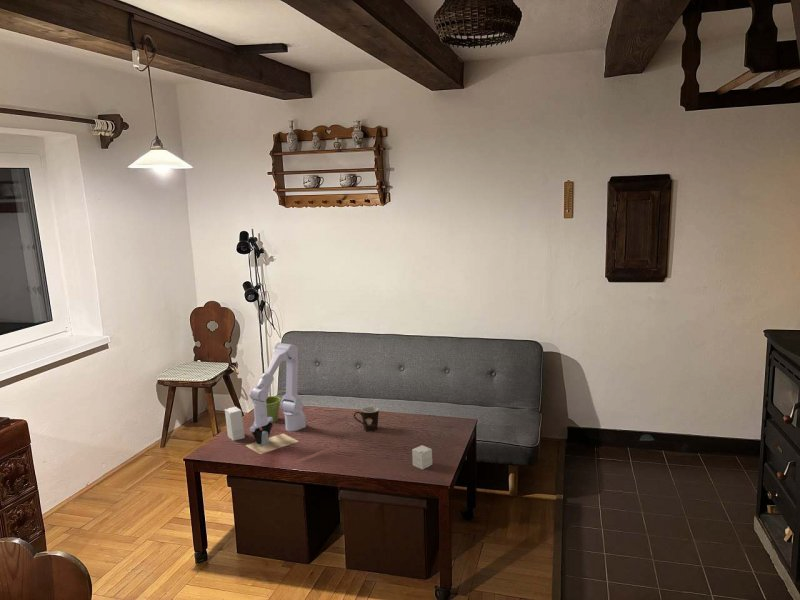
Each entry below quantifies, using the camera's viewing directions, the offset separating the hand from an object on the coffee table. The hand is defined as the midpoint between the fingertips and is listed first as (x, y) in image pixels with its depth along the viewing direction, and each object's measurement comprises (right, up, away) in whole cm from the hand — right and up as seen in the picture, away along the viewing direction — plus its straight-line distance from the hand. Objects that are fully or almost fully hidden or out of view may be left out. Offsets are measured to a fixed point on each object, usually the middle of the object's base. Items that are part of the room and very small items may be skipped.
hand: (262, 441), depth 295 cm
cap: (0, -1, 0) cm, 1 cm away
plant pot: (-3, +3, +32) cm, 32 cm away
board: (+4, -2, 0) cm, 5 cm away
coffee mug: (+48, +2, +17) cm, 51 cm away
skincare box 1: (-15, -1, +10) cm, 18 cm away
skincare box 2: (+73, -5, -26) cm, 77 cm away
